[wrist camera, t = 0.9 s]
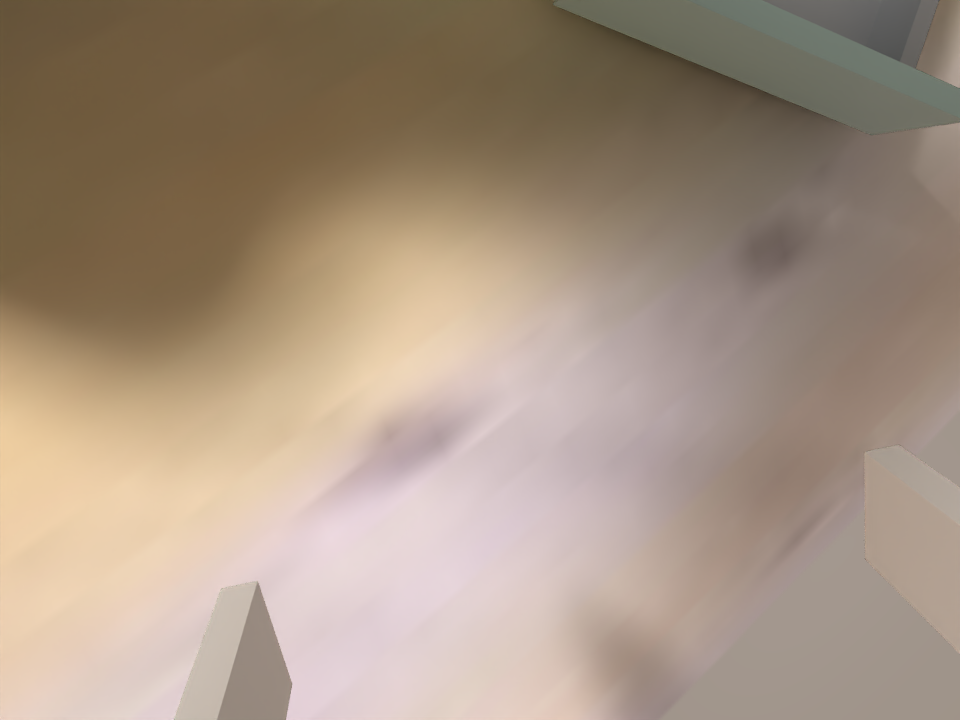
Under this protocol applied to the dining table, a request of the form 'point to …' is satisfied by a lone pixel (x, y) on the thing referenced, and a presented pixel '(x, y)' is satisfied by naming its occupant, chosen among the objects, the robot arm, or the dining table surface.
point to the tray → (802, 52)
